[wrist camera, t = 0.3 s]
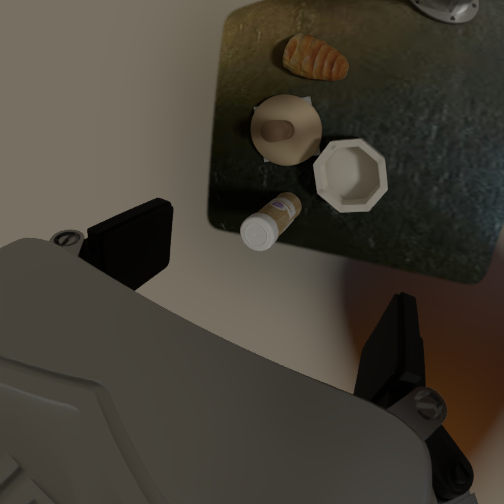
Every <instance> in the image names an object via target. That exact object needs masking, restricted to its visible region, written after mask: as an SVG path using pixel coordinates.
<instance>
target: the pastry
mask: <svg viewBox="0 0 504 504" xmlns="http://www.w3.org/2000/svg"><path fill="white" fill-rule="evenodd" d="M283 66H284V67H285V68H287V69H289V70H290V71H291V72H292V73H293V74H295V75H299V76H302V77H306V78H309V79H319V80H325V81H336V80H341V79H343V78H345V76H346V75H347V72H348V69H349V65H348V62H347V59H346V58H345V57H344V56H343V55H341V54H340V53H339V52H338V51H337V50H336V49H335V48H333V47H331V46H330V45H328V44H327V43H326V42H325V41H324V40H319V39H316V38H313V37H312V36H311V35H303V34H302V33H298V34H296V35H294V36H293V37H292V38H291V39H290V40H289V42H288V44H287V45H286V47H285V50H284V55H283Z"/></svg>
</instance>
